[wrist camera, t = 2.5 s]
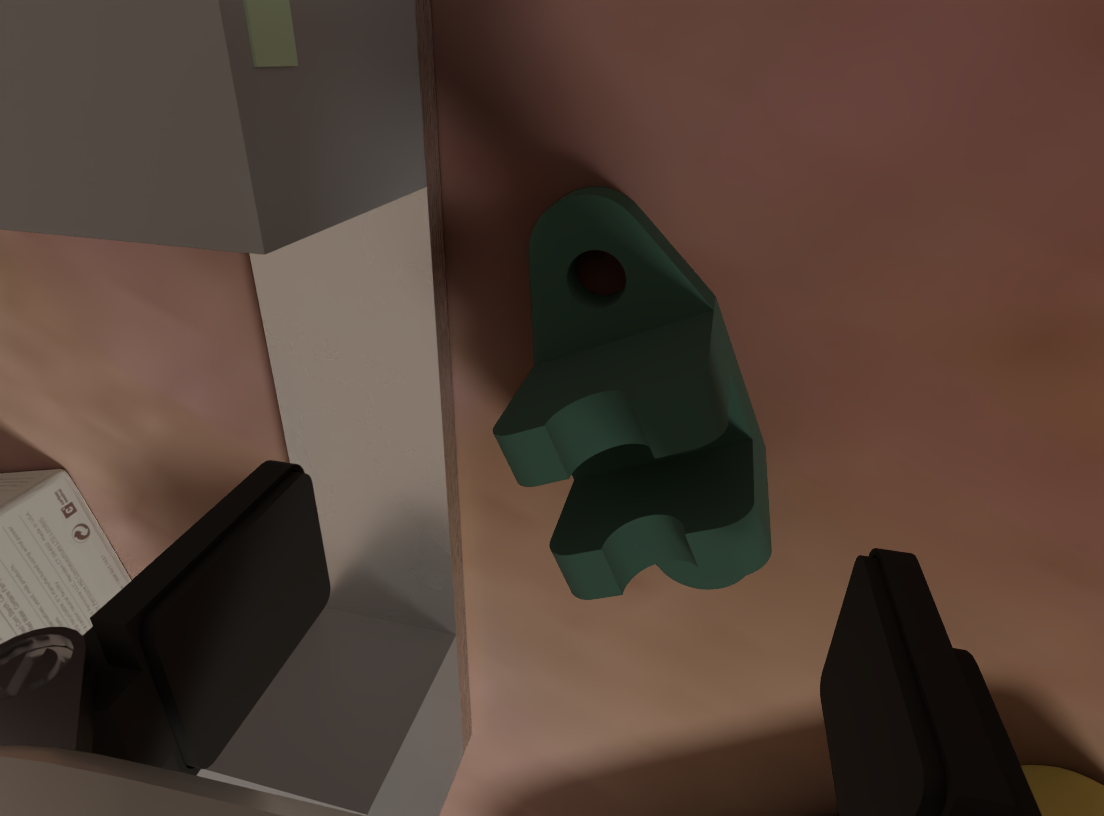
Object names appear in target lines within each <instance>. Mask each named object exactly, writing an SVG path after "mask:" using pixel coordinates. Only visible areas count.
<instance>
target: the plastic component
mask: <svg viewBox="0 0 1104 816" xmlns="http://www.w3.org/2000/svg"><path fill="white" fill-rule="evenodd" d="M1021 767H1022V770H1023V772H1024V775H1025V777H1026V779H1027V782H1028V784H1029V786H1030V789H1031V791H1032V793H1033V796H1034V798H1035V800H1036V803H1037V805H1038V807H1039V810H1040V812H1041V814H1042V816H1104V785H1102V784H1100V783H1098V782H1096V781H1094V780H1092V779H1090V778H1088V777H1086V776H1083V775H1081V774H1078V773H1076V772H1074V771H1070V770H1067V769H1063V768H1060V767H1054V766H1045V765H1021Z"/></svg>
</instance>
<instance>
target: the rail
mask: <svg viewBox="0 0 1104 816" xmlns="http://www.w3.org/2000/svg"><path fill="white" fill-rule="evenodd" d="M415 14H416V30H417V45H418V60H419V76H420V91H421V106H422V122H423V137H424V152H425V168H426V183H427V187H425V188H423V189H421V190H418V191H416V192H413V193H411V194H409V195H406V196H404V197H401V198H399V199H397V200H394V201H392V202H390V203H387V204H385V205H382V206H380V207H378V208H375V209H373V210H370V211H368V212H366V213H363V214H361V215H358V216H356V217H354V218H351V219H349V220H347V221H344V222H342V223H339V224H337V225H335V226H332V227H330V228H327V229H325V230H323V231H320V232H318V233H315V234H313V235H311V236H308V237H306V238H304V239H301V240H299V241H296V242H294V243H292V244H289V245H287V246H284V247H282V248H280V249H277V250H275V251H273V252H270V253H268V254H265V255H262V254H252V253H249V254H250V259H251V264H252V270H253V275H254V280H255V285H256V290H257V295H258V301H259V306H260V311H261V316H262V321H263V326H264V332H265V337H266V342H267V347H268V352H269V357H270V363H271V368H272V373H273V378H274V383H275V388H276V394H277V399H278V404H279V409H280V414H281V419H282V425H283V430H284V435H285V440H286V445H287V451H288V456H289V461H290V463H293V464H298V465H300V466H301V467H302V468H303V469H304V472H305V473H306V474H308V475H310V477H311V479H312V483H313V489H314V494H315V500H316V506H317V512H318V517H319V523H320V529H321V534H322V540H323V546H324V551H325V557H326V563H327V568H328V574H329V580H330V587H331V590H330V596H329V600H328V602H327V604H326V606H325V607H327V608H332V609H336V610H341V611H346V612H350V613H355V614H360V615H364V616H369V617H374V618H378V619H383V620H388V621H392V622H397V623H402V624H406V625H411V626H416V627H420V628H425V629H430V630H434V631H439V632H444V633H448V634H453V635H456V642H457V658H458V673H459V688H460V704H461V719H462V734H463V749H464V752H465V750H466V747H467V745H468V742H469V740H470V737H471V719H470V701H469V683H468V666H467V648H466V630H465V612H464V594H463V576H462V558H461V540H460V522H459V505H458V487H457V469H456V451H455V433H454V415H453V397H452V379H451V361H450V344H449V326H448V308H447V290H446V272H445V254H444V236H443V218H442V200H441V182H440V165H439V147H438V129H437V111H436V93H435V75H434V57H433V39H432V21H431V4H430V0H415Z"/></svg>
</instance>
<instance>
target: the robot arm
mask: <svg viewBox="0 0 1104 816" xmlns="http://www.w3.org/2000/svg"><path fill="white" fill-rule="evenodd" d="M330 590H331V587H330V580H329V574H328V568H327V563H326V557H325V551H324V546H323V540H322V534H321V529H320V523H319V517H318V512H317V506H316V500H315V494H314V489H313V483H312V479H311V477H310V475H308V474H306V473H305V472H304V469H303V468H302V467H301V466H300V465H298V464H293V463H286V462H279V461H272V460H270V461H266V462H264V463H263V464H261V465H260V466H259V467H258V468H257V469H256V470H255V471H253V472H252V473H251V474H250V475H249V476H248V477H247V478H246V479H245V480H243V481H242V482H241V483H240V484H239V485H238V486H237V487H236V488H234V489H233V490H232V491H231V492H230V493H229V494H228V495H227V496H226V497H224V498H223V499H222V500H221V501H220V502H219V503H218V504H217V505H215V506H214V507H213V508H212V509H211V510H210V511H209V512H208V513H207V514H205V515H204V516H203V517H202V518H201V519H200V520H199V521H198V522H196V523H195V524H194V525H193V526H192V527H191V528H190V529H189V530H188V531H186V532H185V533H184V534H183V535H182V536H181V537H180V538H179V539H177V540H176V541H175V542H174V543H173V544H172V545H171V546H170V547H169V548H167V549H166V550H165V551H164V552H163V553H162V554H161V555H160V556H158V557H157V558H156V559H155V560H154V561H153V562H152V563H151V564H150V565H148V566H147V567H146V568H145V569H144V570H143V571H142V572H141V573H139V574H138V575H137V576H136V577H135V578H134V579H133V580H132V581H131V582H129V583H128V584H127V585H126V586H125V587H124V588H123V589H122V590H120V591H119V592H118V593H117V594H116V595H115V596H114V597H113V598H112V599H110V600H109V601H108V602H107V603H106V604H105V605H104V606H103V607H101V608H100V609H99V610H98V611H97V612H96V613H95V614H94V615H93V616H91V617H90V620H91V623H92V625H93V627H91V628H90V629H89V630H88V631H87V632H86V633H85V634H84V635H83V636H82V635H81V634H80V633H79V632H78V631H77V630H74V629H71V628H67V627H46V628H41V629H36V630H32V631H29V632H26V633H23V634H21V635H18V636H15V637H13V638H11V639H9V640H7V641H5V642H4V643H2V644H0V816H363V815H359V814H355V813H351V812H347V811H343V810H339V809H334V808H330V807H326V806H322V805H318V804H313V803H309V802H305V801H301V800H297V799H292V798H288V797H284V796H280V795H275V794H271V793H267V792H263V791H259V790H254V789H250V788H246V787H242V786H238V785H233V784H229V783H225V782H221V781H216V780H212V779H208V778H204V777H200V776H196V775H197V774H198V773H199V771H200V770H201V769H206V768H208V767H210V766H211V765H212V764H213V763H214V762H215V761H216V759H217V758H218V756H219V755H220V754H221V752H222V751H223V749H224V748H225V747H226V745H227V744H228V742H229V741H230V740H231V738H232V737H233V735H234V734H235V733H236V731H237V730H238V728H239V727H240V726H241V724H242V723H243V721H244V720H245V719H246V717H247V716H248V714H249V713H250V712H251V710H252V709H253V707H254V706H255V705H256V703H257V702H258V700H259V699H260V698H261V696H262V695H263V693H264V692H265V691H266V689H267V688H268V686H269V685H270V684H271V682H272V681H273V679H274V678H275V676H276V675H277V674H278V672H279V671H280V669H281V668H282V667H283V665H284V664H285V662H286V661H287V660H288V658H289V657H290V655H291V654H292V653H293V651H294V650H295V648H296V647H297V646H298V644H299V643H300V641H301V640H302V639H303V637H304V636H305V634H306V633H307V632H308V630H309V629H310V627H311V626H312V625H313V623H314V622H315V620H316V619H317V618H318V616H319V615H320V613H321V612H322V611H323V609H324V608H325V606H326V604H327V602H328V600H329V596H330ZM820 697H821V704H822V710H823V717H824V723H825V729H826V735H827V742H828V748H829V754H830V760H831V766H832V773H833V779H834V785H835V791H836V798H837V804H838V810H839V816H1042V814H1041V812H1040V810H1039V807H1038V805H1037V803H1036V800H1035V798H1034V796H1033V793H1032V791H1031V789H1030V786H1029V784H1028V782H1027V779H1026V777H1025V775H1024V772H1023V770H1022V767H1021V765H1020V763H1019V760H1018V758H1017V756H1016V753H1015V751H1014V749H1013V746H1012V744H1011V742H1010V739H1009V737H1008V735H1007V732H1006V730H1005V728H1004V725H1003V723H1002V721H1001V718H1000V716H999V714H998V711H997V709H996V707H995V704H994V702H993V700H992V697H991V695H990V693H989V690H988V688H987V686H986V683H985V681H984V679H983V676H982V674H981V672H980V669H979V667H978V665H977V663H976V661H975V659H974V658H973V656H972V655H971V654H970V653H969V652H968V651H967V650H962V649H956V648H952V645H951V643H950V640H949V638H948V635H947V633H946V630H945V627H944V625H943V622H942V620H941V617H940V615H939V612H938V610H937V607H936V605H935V602H934V600H933V597H932V595H931V592H930V590H929V587H928V585H927V582H926V580H925V577H924V575H923V572H922V570H921V567H920V565H919V562H918V560H917V558H916V556H915V555H914V554H912V553H905V552H898V551H892V550H885V549H878V548H874V549H872V551H871V552H870V554H869V556H861V555H860V556H858V557H857V558H856V561H855V564H854V567H853V571H852V574H851V577H850V581H849V584H848V587H847V591H846V594H845V597H844V601H843V604H842V608H841V611H840V614H839V618H838V621H837V624H836V628H835V631H834V634H833V638H832V641H831V645H830V648H829V651H828V655H827V658H826V661H825V665H824V668H823V671H822V676H821V682H820Z"/></svg>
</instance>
